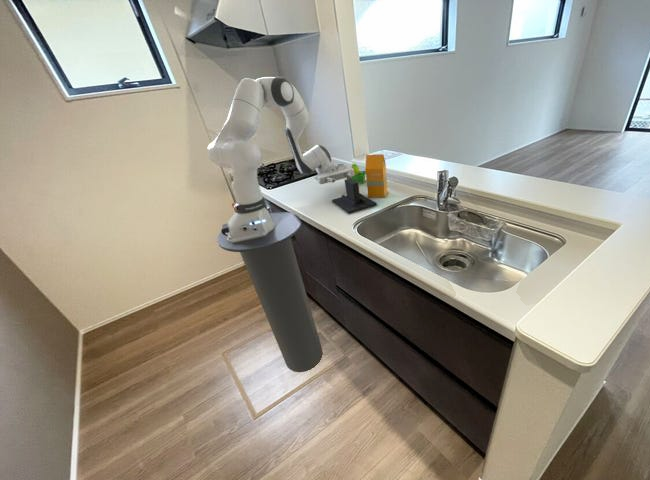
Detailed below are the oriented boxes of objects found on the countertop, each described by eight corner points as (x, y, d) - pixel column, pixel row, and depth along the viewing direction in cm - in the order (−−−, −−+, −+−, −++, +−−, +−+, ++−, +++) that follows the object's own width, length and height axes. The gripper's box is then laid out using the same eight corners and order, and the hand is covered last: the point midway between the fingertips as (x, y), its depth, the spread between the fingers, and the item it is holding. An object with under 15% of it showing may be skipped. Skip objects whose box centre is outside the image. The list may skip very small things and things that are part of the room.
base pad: (349, 214, 138) (348, 207, 136) (332, 201, 153) (331, 195, 151) (376, 205, 143) (376, 199, 141) (358, 194, 158) (357, 188, 156)
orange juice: (384, 197, 151) (382, 156, 139) (368, 197, 153) (363, 157, 141) (387, 192, 157) (385, 152, 145) (371, 192, 159) (367, 152, 147)
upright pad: (355, 204, 144) (352, 184, 138) (347, 199, 150) (344, 179, 144) (360, 203, 145) (358, 182, 139) (352, 197, 151) (349, 178, 146)
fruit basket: (367, 179, 178) (365, 159, 171) (365, 184, 170) (362, 164, 164) (348, 180, 180) (346, 160, 173) (345, 185, 172) (342, 165, 166)
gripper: (312, 171, 156) (321, 177, 146) (347, 163, 163) (358, 168, 153) (314, 183, 160) (323, 189, 149) (348, 174, 167) (359, 180, 156)
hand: (341, 178), depth 151 cm, fingers open, 8 cm apart
